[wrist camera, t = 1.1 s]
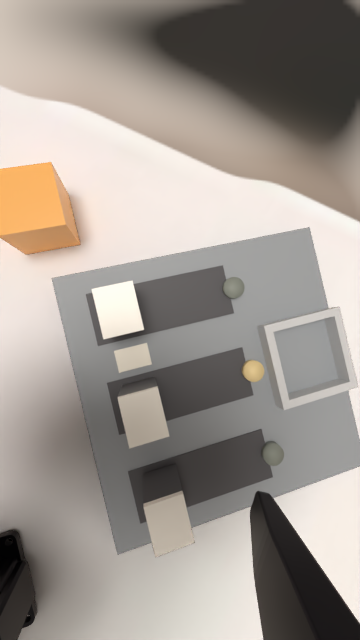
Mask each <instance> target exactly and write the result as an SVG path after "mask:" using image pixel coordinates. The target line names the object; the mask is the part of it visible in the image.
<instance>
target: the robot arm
mask: <svg viewBox="0 0 360 640" xmlns="http://www.w3.org/2000/svg"><path fill="white" fill-rule="evenodd" d="M250 523H251V539H252V555H253V570H254V579H255V587H256V593H257V600H258V607H259V613H260V620H261V626H262V633H263V639H264V640H360V623H359V622H358V620H357V619H356V618H355V616H354V615H353V613H352V612H351V610H350V609H349V607H348V606H347V604H346V603H345V602H344V600H343V599H342V597H341V596H340V594H339V593H338V591H337V590H336V589H335V587H334V586H333V584H332V583H331V581H330V580H329V578H328V577H327V576H326V574H325V573H324V571H323V570H322V568H321V567H320V565H319V564H318V563H317V561H316V560H315V558H314V557H313V555H312V554H311V552H310V551H309V549H308V548H307V547H306V545H305V544H304V542H303V541H302V539H301V538H300V536H299V535H298V534H297V532H296V531H295V529H294V528H293V526H292V525H291V523H290V522H289V521H288V519H287V518H286V516H285V515H284V513H283V512H282V510H281V509H280V508H279V506H278V505H277V503H276V502H275V500H274V499H273V497H272V496H271V495H270V494H269V493H267V492H262V491H257V492H256V493H255V496H254V500H253V503H252V506H251V510H250ZM9 538H10V539H12V540H13V541H9V540H8V539H9ZM34 597H35V591H34V587H33V583H32V579H31V574H30V570H29V566H28V562H27V561H26V560H25V558H24V554H23V550H22V546H21V541H20V537H19V534H18V532H16V531H13V530H12V531H8V532H5V533H2V534H0V640H17V639H18V637H19V634H20V632H21V629H22V628H24V627H27V626H29V625H31V624H32V623H33V622H34V619H35V616H36V614H37V608H36V604H35V600H34ZM27 615H30V616H27Z"/></svg>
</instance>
